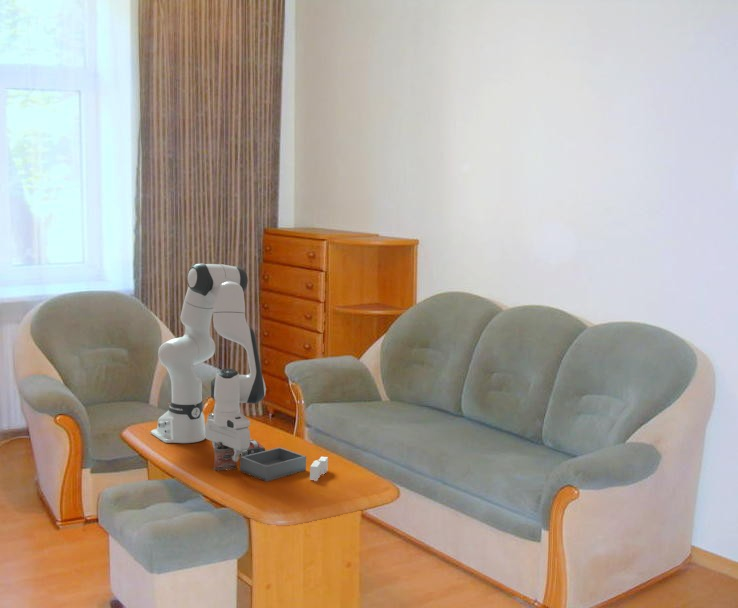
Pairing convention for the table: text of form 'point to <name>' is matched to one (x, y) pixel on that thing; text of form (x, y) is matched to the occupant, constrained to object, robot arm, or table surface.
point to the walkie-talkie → (253, 448)
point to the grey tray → (272, 463)
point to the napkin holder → (318, 468)
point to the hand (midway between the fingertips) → (226, 457)
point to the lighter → (223, 457)
